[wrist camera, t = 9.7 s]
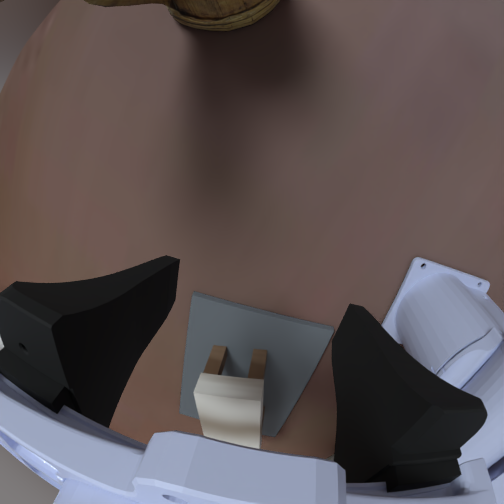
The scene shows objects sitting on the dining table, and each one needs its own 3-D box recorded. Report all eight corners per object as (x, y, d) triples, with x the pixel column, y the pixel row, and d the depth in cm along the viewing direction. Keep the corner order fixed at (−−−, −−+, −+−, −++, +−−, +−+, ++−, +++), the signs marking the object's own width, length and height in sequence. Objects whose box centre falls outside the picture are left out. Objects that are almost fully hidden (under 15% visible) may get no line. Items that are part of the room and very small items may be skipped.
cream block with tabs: (265, 413, 28) (258, 458, 23) (220, 408, 29) (208, 451, 23) (268, 348, 24) (260, 401, 19) (212, 343, 25) (193, 392, 19)
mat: (194, 291, 24) (192, 294, 23) (333, 326, 23) (334, 331, 23) (180, 409, 31) (179, 413, 30) (275, 433, 30) (275, 437, 30)
